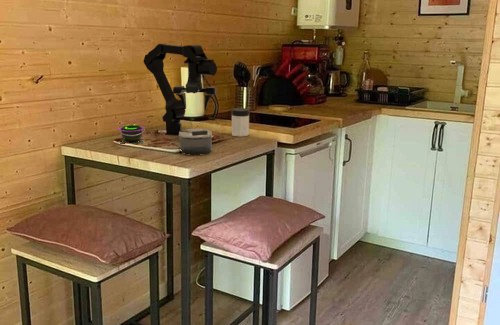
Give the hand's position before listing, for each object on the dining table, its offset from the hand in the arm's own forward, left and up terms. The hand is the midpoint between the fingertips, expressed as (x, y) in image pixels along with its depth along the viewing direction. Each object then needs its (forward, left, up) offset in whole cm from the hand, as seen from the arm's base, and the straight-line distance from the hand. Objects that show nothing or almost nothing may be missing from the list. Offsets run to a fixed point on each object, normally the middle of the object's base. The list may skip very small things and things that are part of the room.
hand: (195, 109), depth 224 cm
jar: (+19, +10, -13) cm, 25 cm away
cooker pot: (+5, -23, -13) cm, 27 cm away
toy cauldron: (-24, -17, -13) cm, 32 cm away
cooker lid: (+5, -23, -6) cm, 25 cm away
